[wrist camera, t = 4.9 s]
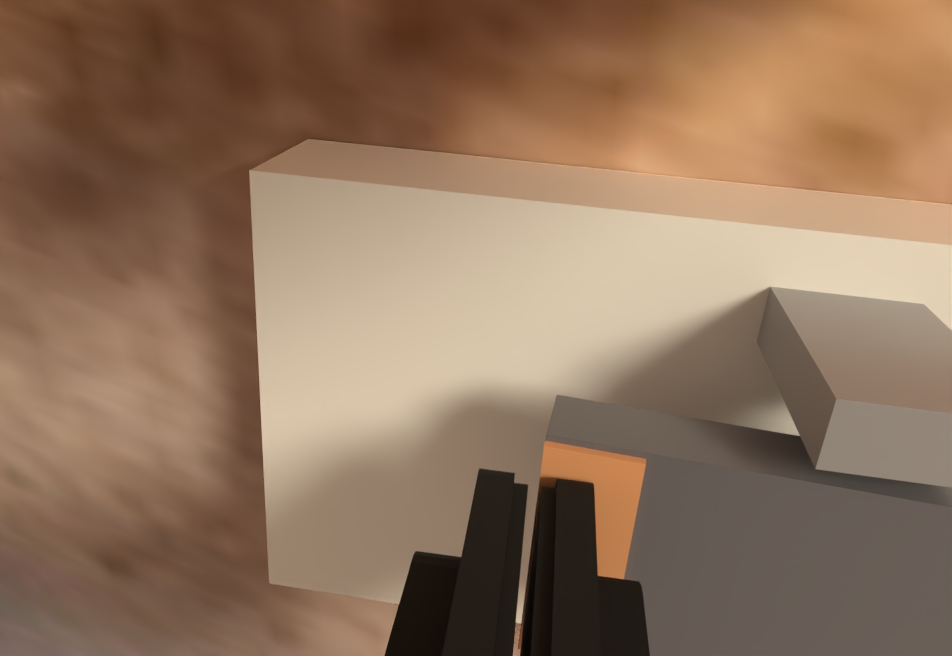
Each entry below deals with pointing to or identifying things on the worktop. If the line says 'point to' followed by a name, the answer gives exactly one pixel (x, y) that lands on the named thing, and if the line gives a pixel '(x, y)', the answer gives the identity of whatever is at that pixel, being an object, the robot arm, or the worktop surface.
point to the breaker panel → (564, 334)
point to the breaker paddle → (755, 538)
